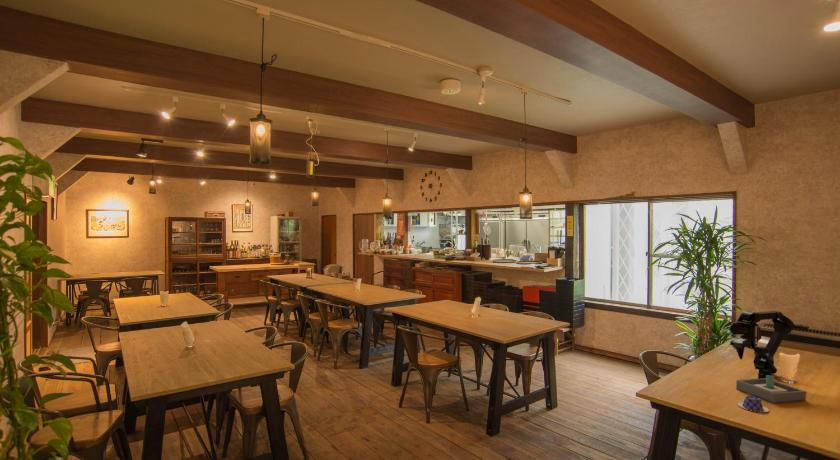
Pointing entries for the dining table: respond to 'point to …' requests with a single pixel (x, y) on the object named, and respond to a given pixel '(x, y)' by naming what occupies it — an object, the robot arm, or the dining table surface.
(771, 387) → the peg
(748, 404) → the checkered hat
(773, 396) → the box
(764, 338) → the milk
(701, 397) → the dining table surface
